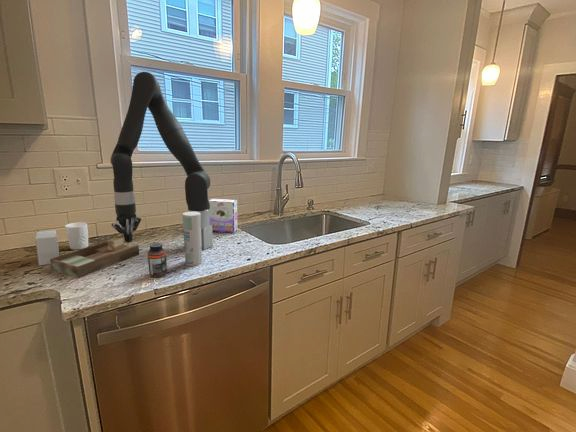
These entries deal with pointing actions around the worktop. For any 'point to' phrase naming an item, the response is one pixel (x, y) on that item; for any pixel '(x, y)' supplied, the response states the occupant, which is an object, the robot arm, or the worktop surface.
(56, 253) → the skincare box
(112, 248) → the maple block
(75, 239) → the white cup
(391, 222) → the worktop surface
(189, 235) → the spray can
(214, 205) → the candy box
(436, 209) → the worktop surface
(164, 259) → the supplement bottle
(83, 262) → the box
